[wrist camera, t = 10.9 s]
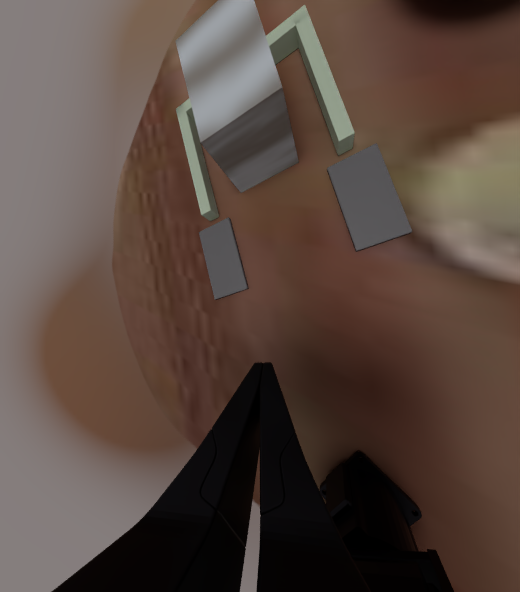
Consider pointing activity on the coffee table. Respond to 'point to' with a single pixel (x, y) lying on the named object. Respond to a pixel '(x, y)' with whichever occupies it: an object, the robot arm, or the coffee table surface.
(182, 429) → the coffee table surface
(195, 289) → the coffee table surface
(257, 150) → the block
